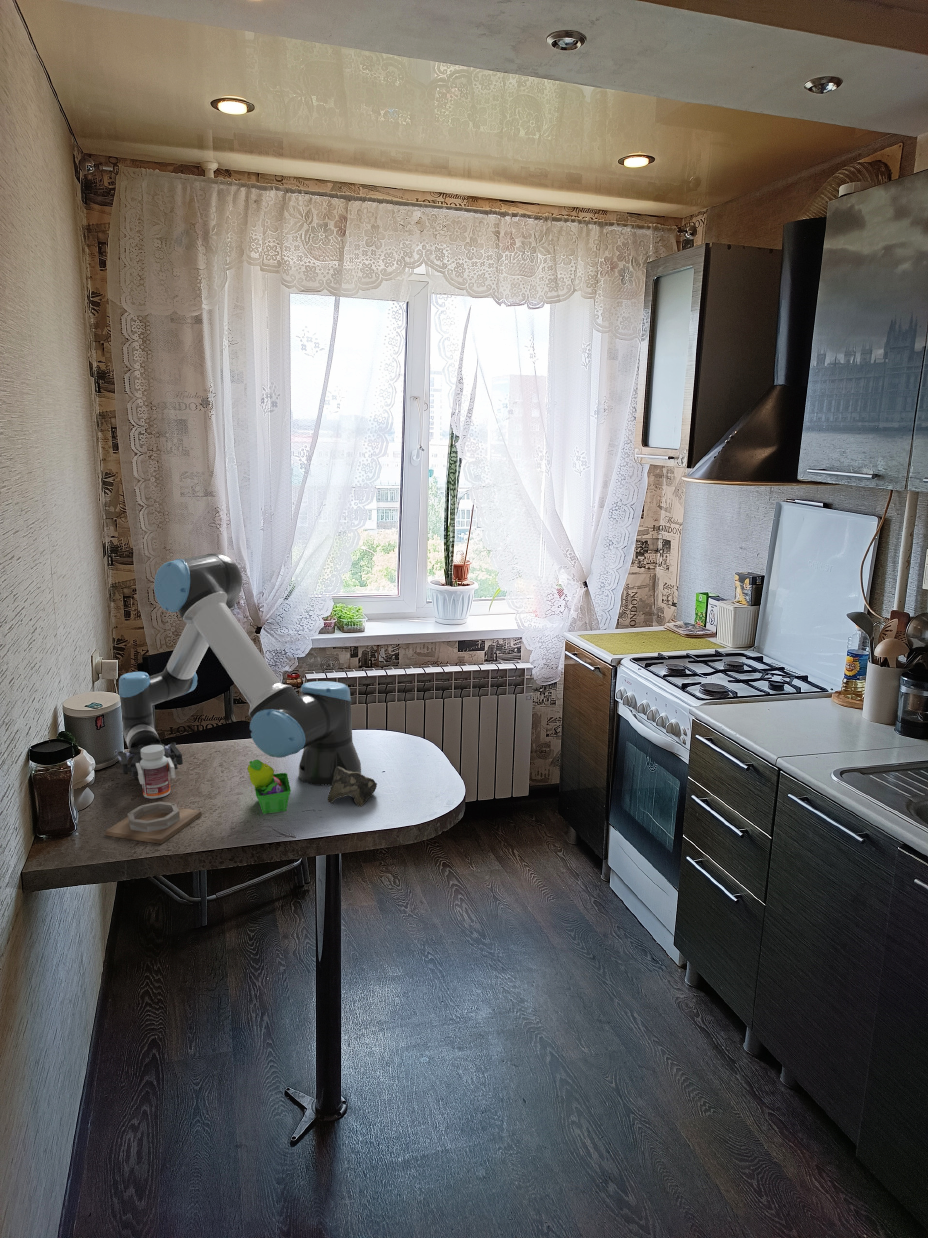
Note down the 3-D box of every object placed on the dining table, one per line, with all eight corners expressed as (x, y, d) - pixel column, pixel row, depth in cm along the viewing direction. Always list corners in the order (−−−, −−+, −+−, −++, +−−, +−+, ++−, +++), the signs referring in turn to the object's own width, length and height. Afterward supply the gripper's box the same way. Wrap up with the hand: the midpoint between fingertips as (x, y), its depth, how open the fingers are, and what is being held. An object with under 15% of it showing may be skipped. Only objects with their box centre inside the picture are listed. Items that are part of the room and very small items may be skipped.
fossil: (382, 786, 202) (377, 758, 195) (374, 818, 195) (369, 790, 188) (337, 783, 203) (331, 755, 196) (328, 815, 196) (321, 787, 190)
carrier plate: (201, 815, 189) (200, 802, 189) (161, 844, 176) (160, 830, 176) (148, 808, 193) (147, 795, 193) (105, 835, 180) (103, 822, 180)
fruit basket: (292, 812, 190) (289, 764, 187) (251, 818, 187) (248, 770, 185) (288, 792, 201) (285, 747, 198) (249, 797, 198) (245, 751, 196)
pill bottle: (176, 792, 201) (171, 747, 199) (153, 801, 197) (148, 755, 194) (160, 786, 205) (156, 741, 203) (137, 795, 200) (132, 749, 198)
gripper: (184, 751, 220) (202, 782, 200) (104, 765, 212) (114, 799, 192) (182, 723, 219) (199, 752, 198) (101, 736, 210) (110, 767, 190)
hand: (157, 775), depth 195 cm, fingers closed on pill bottle, 6 cm apart
